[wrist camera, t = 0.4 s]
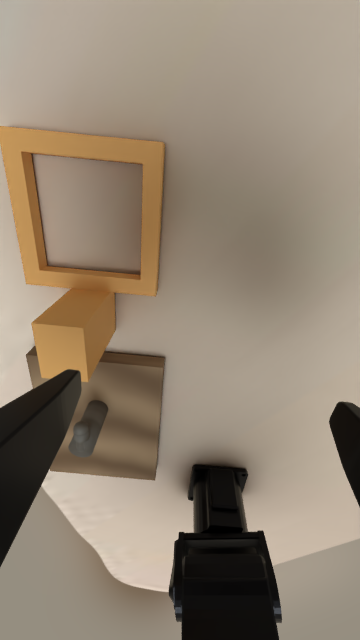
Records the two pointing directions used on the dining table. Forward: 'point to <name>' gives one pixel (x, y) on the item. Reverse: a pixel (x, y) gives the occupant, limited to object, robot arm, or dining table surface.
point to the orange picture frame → (87, 285)
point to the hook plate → (113, 418)
